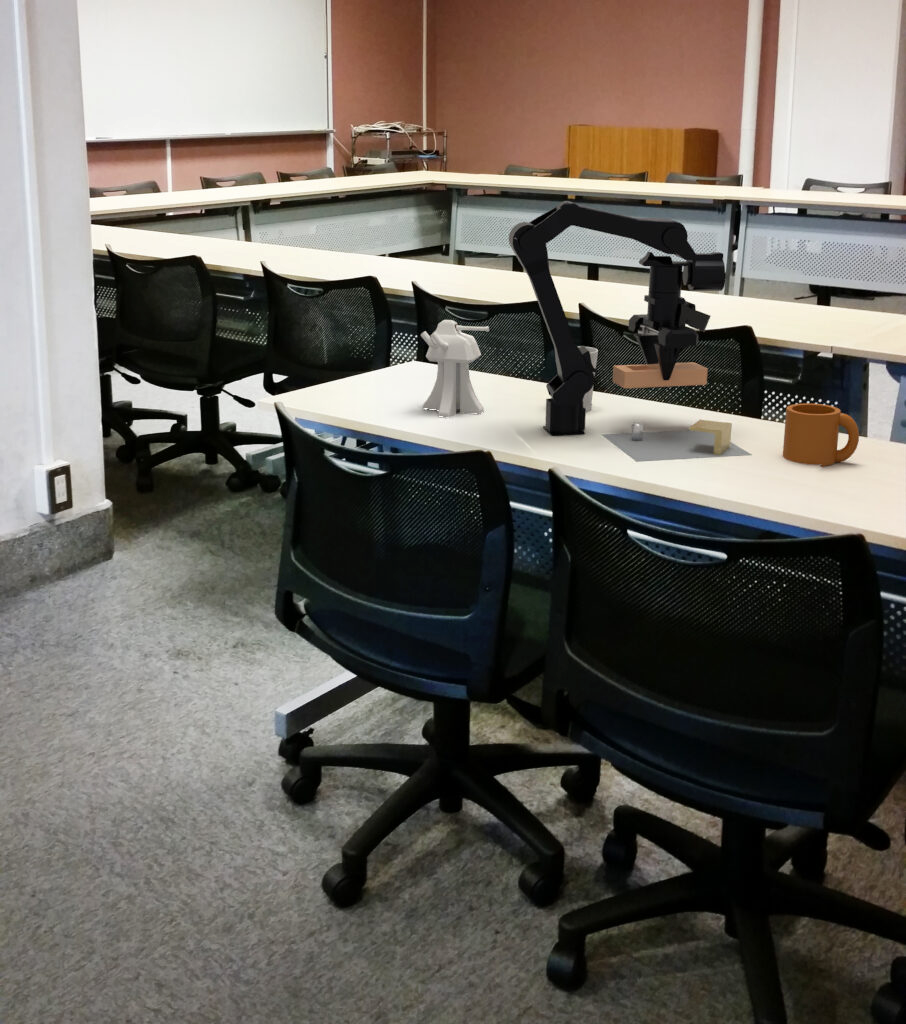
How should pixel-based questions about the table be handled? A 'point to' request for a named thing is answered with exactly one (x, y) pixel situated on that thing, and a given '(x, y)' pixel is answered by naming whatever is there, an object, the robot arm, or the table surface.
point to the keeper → (716, 433)
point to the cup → (588, 396)
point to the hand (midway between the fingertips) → (659, 376)
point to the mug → (817, 434)
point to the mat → (671, 445)
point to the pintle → (637, 431)
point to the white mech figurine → (453, 369)
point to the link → (659, 375)
